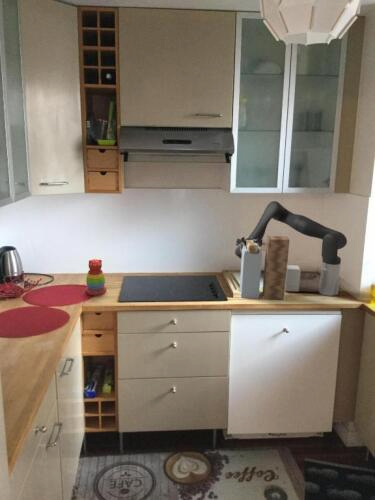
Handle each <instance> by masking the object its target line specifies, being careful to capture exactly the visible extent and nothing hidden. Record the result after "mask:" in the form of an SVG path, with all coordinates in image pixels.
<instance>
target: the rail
mask: <svg viewBox="0 0 375 500" xmlns="http://www.w3.org/2000/svg"><path fill="white" fill-rule="evenodd" d="M258 246H259V245H257V243H254V242H253V240H247V241H246V247H247V252H248V254H257V247H258Z"/></svg>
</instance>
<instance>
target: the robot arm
mask: <svg viewBox="0 0 375 500" xmlns="http://www.w3.org/2000/svg"><path fill="white" fill-rule="evenodd" d="M265 207H266V208H265V209H264V211H263V213H262V215H261V217H260V219H259V220H258V223H256V226H255V227H254V229H253V231H252V232H251V233H250V235H249V236H248V237H247V238H245V236H243V237H241V238H237V239H236V244H235V246H236V249H235V250H234V254H235V256H236V257H238V258H239V259H242V249H243V246H245V247H246V241H247V240H253V242H254V243H257V245H258V246H259V247H262V246H263V238H264V235H265V233H266V230H267V227H268V224H269V223H270V221H271V220H272V219H273V220H274V221H277V222H280V223H283V224H286V225H287V226H289V227H291V228H292V229H293V230H295V231H296V232H298V233H300V234H302V235H305V236H306V237H311V238H316V239H320V240H322V241H321V242H322V243H321V257H322V258H321V260H322V261H321V269H320V275H319V276H320V277H319V287H318V293H319V294H320V295H324V296H329V297H331V296H332V297H333V296H337V295H339V289H340V288H339V287H340V280H341V278H340V272H341V271H340V269H341V265H342V264H341V262H342V261H341V260H342V258H341V257H340V256H338V251H339V250H341V249H343V248H344V247H346V245H347V244H348V241H347V240H348V239H347V236H345V234H344V233H343V232H340V231H338V230H335V229H332V228H329V227H327V226H325V225H323V224H321V223H319V222H317V221H315V220H313V219H311V218H310V217H307V216H306V215H302V214H296V213H293V212H292V211H290V210H288V209H287V208H285V207H284V206H283V205H282V204H281V203H280V202H278V201H275V200H273V201H270V202H269V203H268V204H267V205H266V206H265ZM246 249H247V247H246Z"/></svg>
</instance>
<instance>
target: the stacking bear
mask: <svg viewBox="0 0 375 500" xmlns="http://www.w3.org/2000/svg"><path fill="white" fill-rule="evenodd" d="M102 261H103V260H101V259H98V258H95V259H89V261H88V269H89V270H88V271H87V274H86V278H85V279H86V281H85V282H86V287H85V289H84V290H85V292H86V294H87V295H89V296H99V295H103V294H105V293H106V292H107V287H106V286H105V284H106V278H105V274H104V271H103V270H102V267H103V264H102V263H103V262H102Z"/></svg>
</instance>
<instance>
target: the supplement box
mask: <svg viewBox="0 0 375 500" xmlns="http://www.w3.org/2000/svg"><path fill="white" fill-rule="evenodd" d="M301 272H302V270H301V267H300V266H299V265H297V264H296V265H293V264H287V272H286V282H285V292H299V291H300V282H301V281H300V280H301V274H302V273H301Z"/></svg>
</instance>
